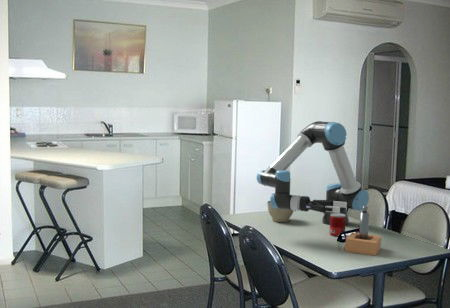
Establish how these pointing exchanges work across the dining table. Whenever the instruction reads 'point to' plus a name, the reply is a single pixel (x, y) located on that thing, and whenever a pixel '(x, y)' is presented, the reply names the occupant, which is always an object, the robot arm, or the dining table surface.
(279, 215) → the planter bowl
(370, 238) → the hollowed wooden tray
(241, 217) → the dining table surface
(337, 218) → the canned food
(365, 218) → the slim metal bottle
